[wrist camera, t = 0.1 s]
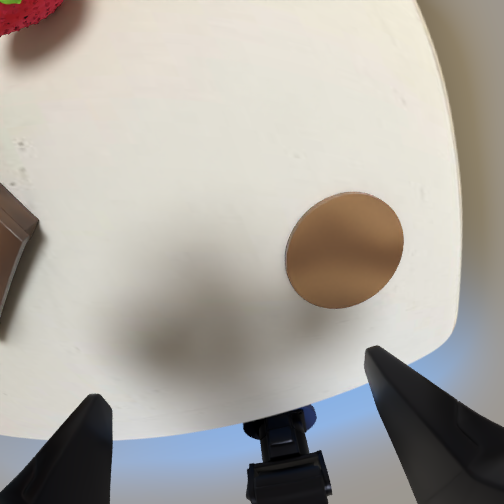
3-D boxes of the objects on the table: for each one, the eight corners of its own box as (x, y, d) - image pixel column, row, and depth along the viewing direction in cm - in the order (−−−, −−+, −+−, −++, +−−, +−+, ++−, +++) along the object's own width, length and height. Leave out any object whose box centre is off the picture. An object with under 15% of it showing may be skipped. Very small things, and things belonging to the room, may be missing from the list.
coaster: (398, 288, 23) (400, 292, 22) (293, 316, 23) (295, 320, 22) (400, 182, 19) (403, 184, 18) (274, 206, 19) (275, 208, 18)
